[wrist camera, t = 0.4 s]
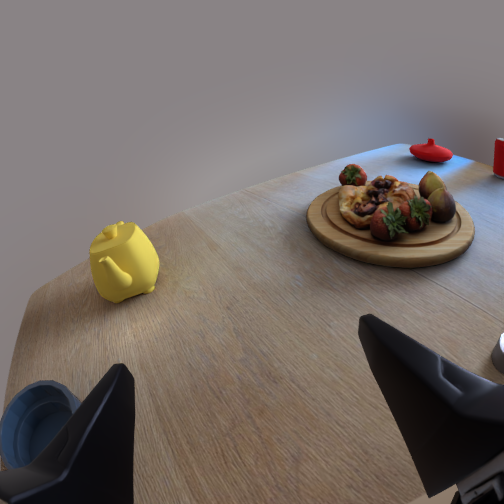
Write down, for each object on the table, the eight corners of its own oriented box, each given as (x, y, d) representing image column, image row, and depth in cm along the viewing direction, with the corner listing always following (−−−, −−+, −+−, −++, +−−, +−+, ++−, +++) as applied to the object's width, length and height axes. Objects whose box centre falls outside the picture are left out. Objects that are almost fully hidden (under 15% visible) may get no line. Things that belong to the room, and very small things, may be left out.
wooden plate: (293, 200, 62) (289, 164, 58) (417, 184, 60) (417, 151, 56) (334, 292, 34) (333, 234, 30) (504, 250, 32) (515, 204, 28)
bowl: (104, 507, 14) (69, 494, 11) (19, 484, 13) (-12, 465, 11) (113, 403, 24) (89, 378, 22) (37, 403, 24) (14, 380, 21)
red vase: (432, 168, 69) (433, 145, 65) (400, 156, 82) (399, 136, 79) (460, 163, 71) (461, 143, 67) (429, 152, 84) (429, 134, 80)
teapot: (169, 311, 37) (139, 243, 31) (99, 333, 34) (62, 271, 29) (162, 252, 52) (144, 199, 46) (110, 270, 50) (88, 220, 44)
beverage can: (508, 181, 55) (511, 143, 49) (491, 176, 59) (493, 138, 53) (509, 177, 57) (512, 141, 51) (494, 172, 62) (496, 136, 56)
